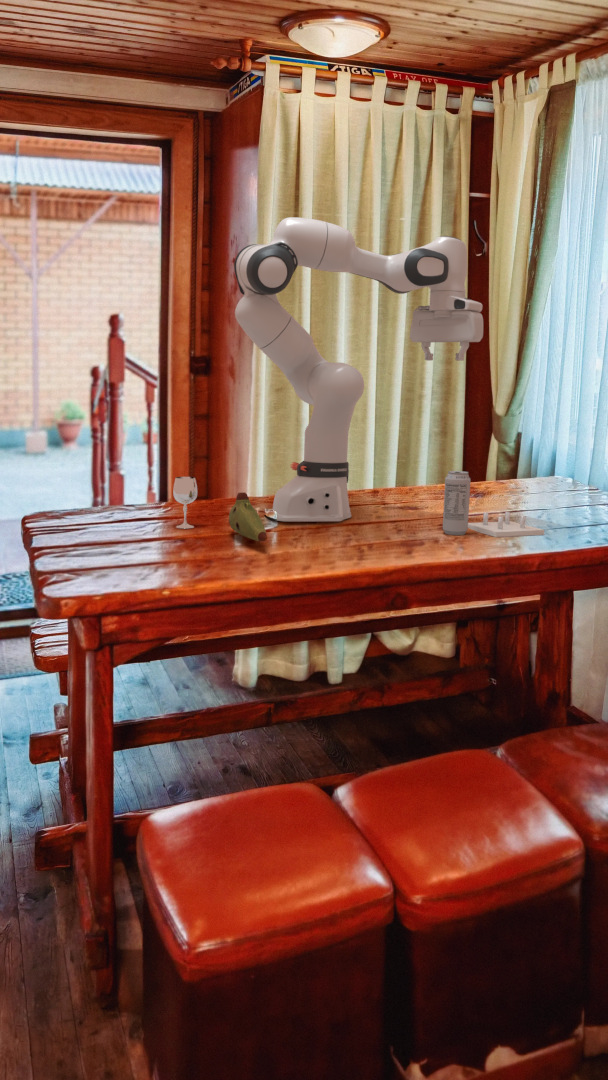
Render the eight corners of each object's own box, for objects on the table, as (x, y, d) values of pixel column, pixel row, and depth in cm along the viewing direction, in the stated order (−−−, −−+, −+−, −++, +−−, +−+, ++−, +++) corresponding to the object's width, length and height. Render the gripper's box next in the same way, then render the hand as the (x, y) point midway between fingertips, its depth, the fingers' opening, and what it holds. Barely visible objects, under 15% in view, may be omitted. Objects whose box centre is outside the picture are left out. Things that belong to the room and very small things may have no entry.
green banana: (277, 544, 199) (278, 499, 197) (254, 545, 196) (255, 500, 195) (241, 530, 216) (242, 488, 215) (220, 531, 214) (221, 489, 212)
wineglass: (170, 525, 220) (170, 476, 218) (193, 524, 222) (194, 476, 220) (176, 529, 215) (176, 479, 212) (199, 528, 217) (199, 478, 214)
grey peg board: (495, 537, 215) (496, 519, 215) (464, 527, 228) (465, 511, 227) (544, 534, 221) (545, 517, 220) (510, 525, 233) (511, 509, 233)
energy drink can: (471, 533, 220) (474, 472, 218) (462, 536, 215) (465, 473, 212) (447, 530, 223) (451, 470, 221) (438, 533, 218) (441, 472, 215)
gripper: (406, 305, 232) (403, 359, 234) (474, 301, 218) (470, 360, 220) (420, 307, 236) (418, 360, 239) (488, 304, 223) (484, 361, 225)
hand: (443, 360), depth 229 cm, fingers open, 8 cm apart
